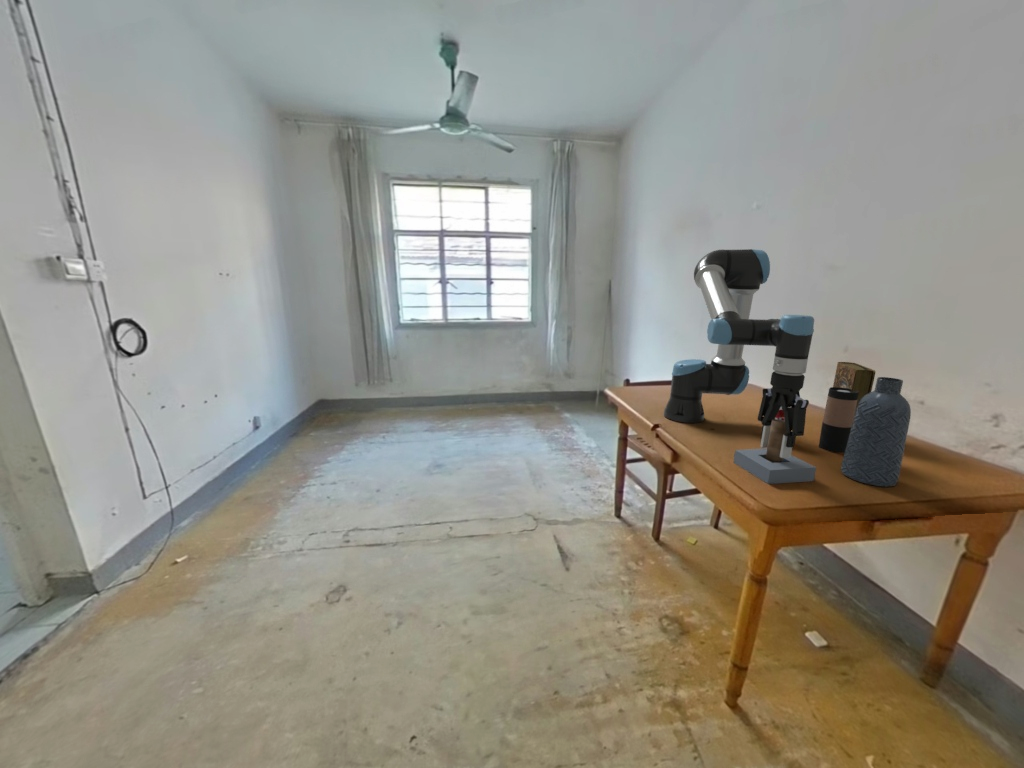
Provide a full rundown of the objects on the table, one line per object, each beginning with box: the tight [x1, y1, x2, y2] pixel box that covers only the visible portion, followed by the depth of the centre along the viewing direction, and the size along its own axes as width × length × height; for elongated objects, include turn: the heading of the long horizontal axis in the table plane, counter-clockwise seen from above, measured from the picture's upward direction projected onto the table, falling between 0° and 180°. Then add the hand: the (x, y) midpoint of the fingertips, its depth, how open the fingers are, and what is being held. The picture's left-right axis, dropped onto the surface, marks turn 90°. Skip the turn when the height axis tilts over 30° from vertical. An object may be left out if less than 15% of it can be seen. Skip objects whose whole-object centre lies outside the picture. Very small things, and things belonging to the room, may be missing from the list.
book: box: [832, 361, 876, 411], centre depth 147 cm, size 16×6×25 cm, turn 161°
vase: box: [840, 376, 912, 488], centre depth 112 cm, size 12×12×28 cm
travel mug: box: [818, 386, 859, 454], centre depth 133 cm, size 8×8×20 cm
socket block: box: [733, 448, 817, 485], centre depth 118 cm, size 14×14×4 cm
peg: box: [765, 419, 786, 463], centre depth 117 cm, size 4×4×15 cm
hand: (774, 451), depth 117 cm, fingers open, 7 cm apart
